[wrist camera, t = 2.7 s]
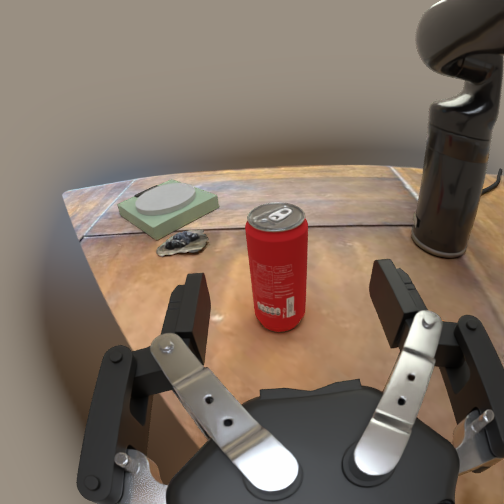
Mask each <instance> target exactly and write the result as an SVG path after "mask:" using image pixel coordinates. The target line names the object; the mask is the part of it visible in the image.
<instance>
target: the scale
mask: <svg viewBox="0 0 504 504" xmlns="http://www.w3.org/2000/svg"><path fill="white" fill-rule="evenodd" d="M117 205H118V208H119V212H120V215H121V216H122V217H124V218H125V219H127V220H128V221H130V222H131V223H132V224H134V225H135V226H137V227H138V228H140V229H141V230H142V231H144V232H145V233H147V234H148V235H150V236H151V237H152V238H154V239H155V240H159V239H160V238H162V237H164V236H166V235H168V234H170V233H171V232H173V231H175V230H177V229H179V228H181V227H183V226H184V225H186V224H188V223H190V222H192V221H194V220H196V219H198V218H200V217H202V216H203V215H205V214H207V213H209V212H211V211H213V210H215V209H217V208H219V204H218V198H217V195H215V194H212V193H209V192H206V191H204V190H201V189H198V188H195V187H193V186H192V185H190V184H186V183H181V182H178V181H175V180H169V181H167V182H165V183H162V184H160V185H158V186H157V185H156V186H154V187H151V188H149V189H147V190H145V191H143V192H140V193H138V194H136V195H135V196H134V197H132V198H130V199H128V200H125V201H123V202H121V203H119V204H117Z"/></svg>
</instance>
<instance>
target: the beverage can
mask: <svg viewBox="0 0 504 504" xmlns="http://www.w3.org/2000/svg"><path fill="white" fill-rule="evenodd" d="M247 220H248V221H247V223H246V226H245V230H246V239H247V248H248V256H249V265H250V274H251V283H252V292H253V301H254V309H255V315H256V317H257V319H258V320H259V321H260V322H261V324H262V325H263V326H264V327H265V328H266V329H268V330H270V331H273V332H286V331H289V330H291V329H293V328H295V327H296V326H297V325H298V324H299V322H300V320H301V319H302V317H303V316H304V313H305V302H306V279H307V245H308V223H307V220H306V219H305V214H304V212H303V210H302V209H300V208H299V207H297V206H295V205H292V204H288V203H268V204H263V205H260V206H258V207H256V208H254V209H253V210H251V211H250V212H249V214H248V216H247Z"/></svg>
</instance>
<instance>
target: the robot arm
mask: <svg viewBox="0 0 504 504" xmlns="http://www.w3.org/2000/svg"><path fill="white" fill-rule="evenodd" d="M416 47H417V51H418V54H419V56H420V58H421V60H422V61H423V63H424V64H425V65H426V66H427V67H428V68H429V69H431V70H432V71H434V72H436V73H438V74H441V75H444V76H447V77H452V78H456V79H461V80H465V82H464V87H463V90H462V91H461V92H460V93H459V94H457V95H456V96H453V97H451V98H448V99H443V100H438V101H435V102H433V103H432V104H431V105H430V108H429V116H428V129H427V140H426V150H425V159H424V166H423V174H422V180H421V187H420V193H419V199H418V205H417V210H416V214H415V212H414V217H413V221H414V225H413V227H412V231H411V236H412V238H413V240H414V242H415V243H416V244H417V245H418V246H419V247H420V248H422V249H423V250H425V251H427V252H428V253H431V254H433V255H436V256H439V257H444V258H456V257H459V256H461V255H463V254H464V253H465V251H466V248H467V243H468V240H469V236H470V233H471V230H472V227H473V224H474V220H475V216H476V213H477V209H478V205H479V201H480V197H481V194H483V193H486V192H488V191H490V190H492V189H493V188H495V187H496V186H497V185H498V184H499V182H500V176H501V175H502V169H499V172H498V176H497V181H496V182H495V183H494V184H492V185H491V186H489V187H487V188H485V189H482V188H483V184H484V179H485V174H486V169H487V164H488V158H489V151H490V145H491V139H492V132H493V128H494V126H495V123H496V121H497V118H498V114H499V107H500V98H501V89H502V79H503V78H502V77H503V62H504V61H503V56H504V0H442V1H440V2H438V3H437V4H435V5H433V6H432V7H430V8H429V9H428V10H427V11H426V12H425V13H424V14H423V15H422V17H421V19H420V21H419V23H418V26H417V30H416ZM369 292H370V297H371V299H372V302H373V304H374V307H375V309H376V312H377V314H378V317H379V319H380V322H381V324H382V327H383V329H384V332H385V335H386V337H387V340H388V343H389V345H390V348H397V347H399V349H400V353H399V355H398V358H397V360H396V362H395V365H394V367H393V369H392V372H391V374H390V376H389V378H388V380H387V383H386V385H385V387H384V389H383V391H380V390H378V389H375V388H372V387H368V386H361V383H360V379H355V380H348V381H342V382H335V383H333V384H330V385H327V386H325V387H322V388H319V389H316V390H313V391H306V390H298V389H290V388H277V389H261V390H260V396H259V397H256V398H253V399H251V400H249V401H247V402H245V403H243V404H242V405H241V404H240V403H239V402H238V401H237V400H236V399H235V398H234V396H233V395H232V394H231V393H230V392H229V391H228V390H227V389H226V387H225V386H224V385H223V384H222V383H221V382H220V381H219V379H218V378H217V377H216V376H215V375H214V374H213V372H212V371H211V370H210V369H209V368H208V367H206V368H205V367H204V366H203V365H204V363H205V353H206V344H207V336H208V327H209V319H210V310H211V302H210V296H209V291H208V287H207V283H206V278H205V275H204V273H193V274H188V275H187V278H186V282H185V285H178V286H177V287H176V288H175V289H174V291H173V292H172V293H171V297H170V301H169V304H168V310H167V312H166V316H165V320H164V324H163V328H162V332H161V335H159V336H158V337H156V338H155V339H154V340H153V342H152V343H151V346H149V347H147V348H144V349H140V350H136V351H132V352H131V350H130V349H129V348H128V347H126V346H122V345H119V346H115V347H112V348H110V349H109V350H108V351H107V352H106V353H105V355H104V357H103V360H102V363H101V367H100V370H99V374H98V378H97V382H96V386H95V390H94V394H93V398H92V402H91V406H90V411H89V415H88V420H87V424H86V429H85V434H84V439H83V445H82V450H81V456H80V462H79V468H78V474H77V488H78V490H79V492H80V493H81V495H82V496H83V497H84V498H86V499H87V500H90V501H92V502H95V503H97V504H455V488H456V483H457V479H458V476H460V475H463V474H465V473H468V472H470V471H472V472H474V473H481V472H483V471H485V470H486V469H488V468H490V467H491V466H493V465H495V464H496V463H498V462H499V461H501V460H503V459H504V368H503V366H502V364H501V361H500V359H499V357H498V355H497V353H496V351H495V349H494V346H493V344H492V342H491V340H490V338H489V336H488V334H487V332H486V330H485V329H484V327H483V325H482V323H481V322H480V320H479V319H477V318H476V317H474V316H471V315H464V316H462V317H461V318H460V319H459V321H458V323H453V322H444V321H442V320H441V318H440V317H439V316H438V315H437V314H436V313H434V312H432V311H428V309H427V308H426V306H425V304H424V302H423V300H422V298H421V297H420V295H419V293H418V291H417V290H416V288H415V286H414V284H412V281H411V279H410V277H409V276H408V274H407V273H405V272H404V271H403V270H402V269H401V268H398V269H396V267H395V266H394V264H393V262H392V261H391V259H382V260H375V261H374V264H373V269H372V274H371V279H370V285H369ZM434 366H439V369H440V371H441V374H442V377H443V380H444V383H445V386H446V389H447V392H448V396H449V399H450V402H451V405H452V409H453V412H454V415H455V419H456V423H457V426H456V427H455V429H454V432H453V445H452V444H451V443H450V442H449V441H448V440H446V439H445V438H444V437H442V436H441V435H440V434H438V433H437V432H436V431H434V430H433V429H432V428H430V427H429V426H427V425H426V424H425V423H423V422H422V421H421V420H419V419H418V418H417V414H418V412H419V409H420V406H421V404H422V401H423V398H424V396H425V393H426V390H427V387H428V384H429V381H430V378H431V375H432V372H433V368H434ZM169 390H172V391H173V392H174V394H175V395H176V397H177V398H178V399H179V401H180V402H181V404H182V405H183V407H184V408H185V409H186V411H187V412H188V413H189V415H190V416H191V418H192V419H193V420H194V422H195V423H196V425H197V426H198V428H199V429H200V430H201V432H202V433H203V434H204V436H205V437H206V438H207V439H208V441H207V442H206V443H205V444H204V445H203V446H202V447H201V448H200V450H199V451H198V452H197V453H196V454H195V455H194V456H193V457H192V458H191V459H190V460H189V461H188V462H187V463H186V464H185V466H183V467H182V469H181V470H180V471H179V472H178V473H177V474H176V475H175V476H174V477H173V478H172V479H171V481H170V483H169V485H164V484H163V483H162V481H161V479H160V476H159V469H158V467H157V465H156V464H155V463H154V462H153V461H152V460H150V459H149V458H148V457H147V447H148V438H149V437H148V436H149V428H150V418H151V410H152V401H153V394H157V393H161V392H165V391H169Z"/></svg>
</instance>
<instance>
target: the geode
mask: <svg viewBox="0 0 504 504" xmlns="http://www.w3.org/2000/svg"><path fill="white" fill-rule="evenodd" d="M203 232H204V231H203V230H188V231H184V232H183V233H181V232H179V233H177V234H176V235H174V236H171V237H170V238H169V239H167V241H166V242H165V243H163V244H162V245H161V246H159V247H158V248H157V254H158V255H161V256H163V255H165V254H166V255H173V254H174V253H177V252H183V253H186V252H192V253H194V252H198V251H199V250H201V249H202V248H203V247H204V246H205V244H206V243H205V242H206V241H208V240H209V239H208V237H205V236H207V235H206V234H203Z"/></svg>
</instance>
